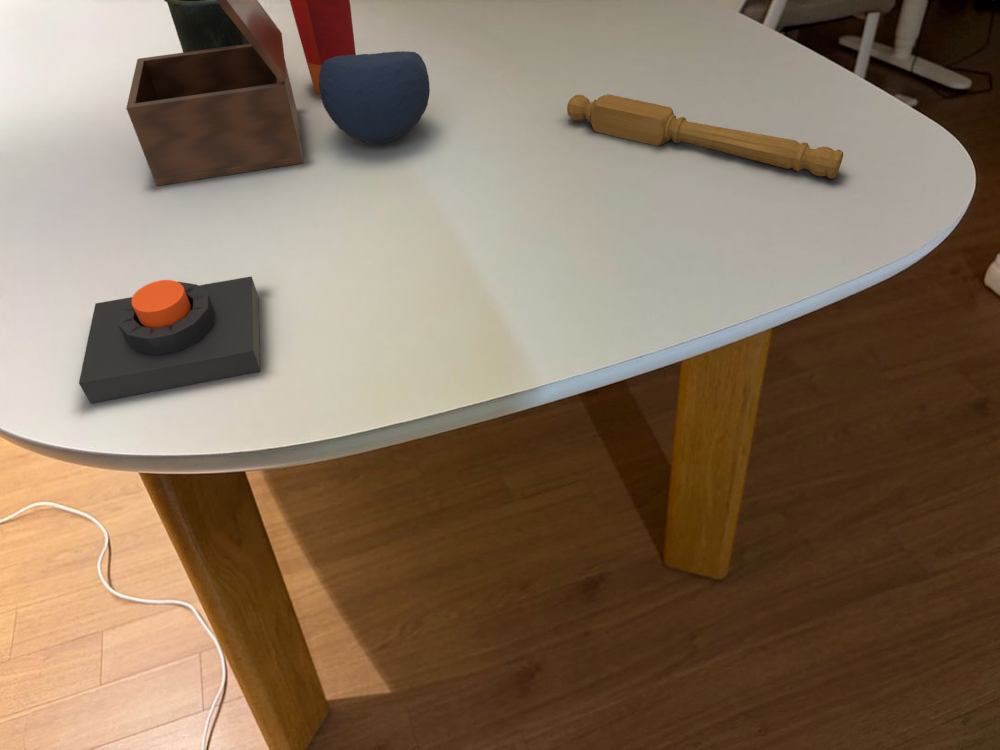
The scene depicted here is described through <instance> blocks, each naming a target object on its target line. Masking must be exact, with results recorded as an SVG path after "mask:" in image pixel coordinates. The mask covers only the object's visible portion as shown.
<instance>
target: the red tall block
mask: <svg viewBox="0 0 1000 750" xmlns="http://www.w3.org/2000/svg"><path fill="white" fill-rule="evenodd" d="M289 3H290V6H291V11H292V14H293V18H294V22H295V25H296V29H297V33H298V36H299V40H300V43H301V47H302V51H303V55H304V58H305V62H306V65H307V68H308V72H309V75H310V80H311V83H312V85H313V89H314V92H315V93H316V94H318V95H319V96H321V95H320V89H319V73H320V69H321V66H322V64H323V63H324V61H326V60H328V59H330V58H333V57H336V56H346V55H357V54H356V43H355V35H354V27H353V26H354V25H353V19H352V18H353V17H352V9H351V1H350V0H289Z"/></svg>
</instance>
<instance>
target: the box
mask: <svg viewBox="0 0 1000 750" xmlns="http://www.w3.org/2000/svg"><path fill="white" fill-rule="evenodd" d="M284 59H285V60H286V58H285V57H284ZM285 68H286V77H287V78H286V79H285V80H284V81H282V82H280V81H279V80H278V79H277V77H276V76H275V75H274V74H273V72H272V71H271V70H270V68H269V67H268V66H267V65H266V63H265V62H264V61H263V59H262V58H261V57H260V56H259V54H258V53H257V52H256V50H255V49H254V48H253V47H252V45H251V44H244V45H236V46H229V47H221V48H214V49H206V50H199V51H191V52H184V53H183V52H177V53H176V52H175V53H171V54H169V53H168V54H163V55H155V56H147V57H139V58H137V60H136V63H135V68H134V72H133V77H132V81H131V86H130V90H129V95H128V99H127V102H126V103H127V104H126V107H125V108H126V111H127V114H128V116H129V119H130V122H131V124H132V126H133V130H134V132H135V134H136V137H137V139H138V142H139V144H140V147H141V150H142V152H143V155H144V157H145V160H146V162H147V165H148V168H149V170H150V172H151V176H152V178H153V180H154V183H155V185H156V187H159V186H166V185H172V184H178V183H185V182H190V181H198V180H203V179H204V180H205V179H210V178H217V177H223V176H229V175H236V174H242V173H249V172H255V171H261V170H268V169H273V168H280V167H286V166H287V167H288V166H293V165H301V164H304V158H303V157H304V156H303V149H302V142H301V141H302V140H301V132H300V124H299V117H298V116H299V114H298V110H297V106H296V101H295V96H294V93H293V88H292V84H291V79H290V75H289V72H288V67H287V63H286V61H285Z"/></svg>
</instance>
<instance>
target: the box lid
mask: <svg viewBox="0 0 1000 750" xmlns="http://www.w3.org/2000/svg"><path fill="white" fill-rule="evenodd" d="M217 2H218V3H219V4H220V5H221V7H222V8H223V9H224V11H225V12H226V13H227V14H228V16H229V17H230V18H231V20H232V21H233V22H234V23H235V25H236V26H237V27H238V29H239V30H240V31H241V32H242V34H243V35H244V36H245V38H246V39H247V40H248V41H249V43H250V44H251V45H252V47H253V48H254V49H255V50H256V52H257V53H258V54H259V56H260V57H261V58H262V59H263V61H264V62H265V63H266V65H267V66H268V67H269V68H270V70H271V71H272V72H273V74H274V75H275V76H276V77H277V79H278V80H279V81H280V82H282V81H284V80H285V79H286V78H287V77H286V68H285V62H286V58H285V50H284V49H285V48H284V42H283V33H282V31H281V30H280V29H279V27H278V25H276V23H275V22H274V20H273V19H272V18H271V16H270V15H269V14H268V12H267V11H266V9H265V8H264V7H263V6H262V4H261V3H260V1H259V0H217ZM284 58H285V59H284Z"/></svg>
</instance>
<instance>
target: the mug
mask: <svg viewBox="0 0 1000 750" xmlns="http://www.w3.org/2000/svg"><path fill="white" fill-rule="evenodd" d="M163 1H164V2H166V3H167V6H168V9H169V12H170V15H171V16H170V17H171V19H172V22H173V24H174V29H175V32H176V34H177V38H178V41H179V44H180V47H181V50H182V53H184V52H191V51H199V50H206V49H214V48H221V47H229V46H236V45H244V44H250V43H249V41H248V40H247V39H246V38H245V36H244V35H243V34H242V32H241V31H240V30H239V29H238V27H237V26H236V25H235V23H234V22H233V21H232V20H231V18H230V17H229V16H228V14H227V13H226V12H225V11H224V9H223V8H222V7H221V5H220V4H219V3H218V2H217V0H163Z"/></svg>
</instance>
